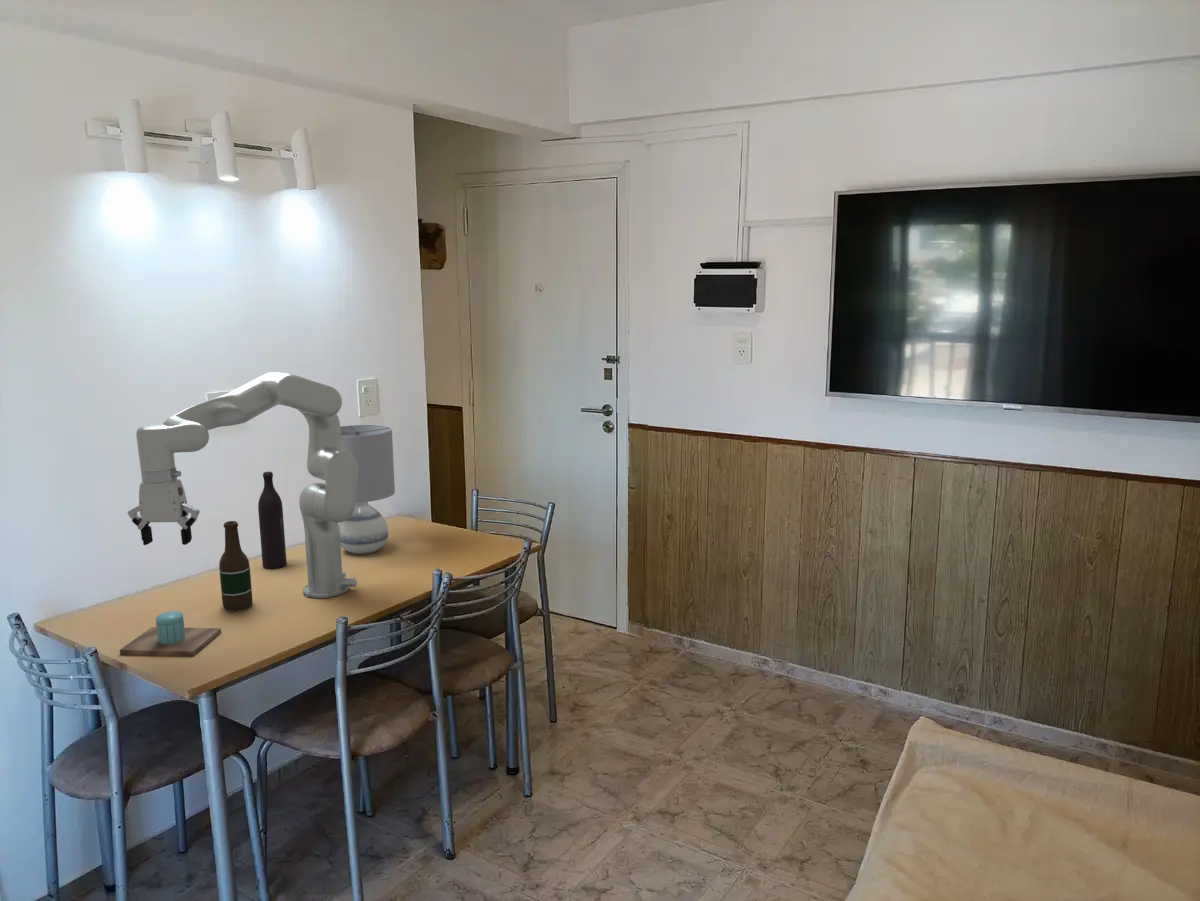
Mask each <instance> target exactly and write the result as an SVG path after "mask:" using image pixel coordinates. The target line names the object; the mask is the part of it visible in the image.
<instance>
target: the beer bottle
mask: <svg viewBox="0 0 1200 901" xmlns="http://www.w3.org/2000/svg"><path fill="white" fill-rule="evenodd" d="M238 527H239V523H238V522H237V520H230V521H229V520H228V521H225V522H224V523H223V528H224V552H223V553H222V554H221V557H220V559H219V565H218V567H219V570H218V571H219V581H220V589H221V591H220V592H221V600H222V606H223V608H224V609H225V611H229V612H238V611H242V610H246V609H248V608H250V607H252V606H253V590H252V577H251V568H250V560H249V558H248V556H247V555H246V554H245V553H244V551H243V550H242V547H241V543H240V537H239V528H238Z"/></svg>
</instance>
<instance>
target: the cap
mask: <svg viewBox="0 0 1200 901" xmlns="http://www.w3.org/2000/svg"><path fill="white" fill-rule="evenodd" d="M184 620H185V619H184V613H183V612H181V611H166V612H163V613H159V614H158V615H157V616H155V622H156V623H155V627H157V636H158V642H159V643H161V644H171V643H175V642H179V641H181V640H183V639H184V638H185V630H184V628H185V623H184Z"/></svg>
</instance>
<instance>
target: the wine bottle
mask: <svg viewBox="0 0 1200 901" xmlns="http://www.w3.org/2000/svg"><path fill="white" fill-rule="evenodd" d="M273 477H274V473H273V472H272V471H264V472H263V474H262V478H263V490H262V492H261V494H260V496H259V497H258V498H259V499H258V503H257V504H258V506H257V509H258V511H257V512H258V523H259V524H258V526H259V535H260V549H261V560H262V567H263V568H264V569H268V570H274V569H276V570H277V569H280V568H283V567H286V565H287V551H286V550H287V549H286V536H285V535H286V534H285V522H284V509H283V502H282V498H281V497H280V495H279V492H277V490H276V489H275V485H274V481H273Z"/></svg>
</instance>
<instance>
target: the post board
mask: <svg viewBox="0 0 1200 901" xmlns="http://www.w3.org/2000/svg"><path fill="white" fill-rule="evenodd" d="M221 629H222V628H219V627H218V628H217V627H215V628H213V627H184V630H185V638H184V639H183V640H181V641H179V642H175V643H171V644H161V643H159V642H158V636H157V626H151V627H150V628H148V629H146V630H145V631H144V632H142V633H141V634H140V635H139V636H137V637H136V638H134V639H133V640H132V641H130V642H129V643H127V644H126V645H124V646H123V647H121V648H120V649H119V655H121V656H122V655H123V656H128V655H129V656H167V657H169V656H170V657H171V656H172V657H195V655H197V654H198V653H199V652H200V651H201V650H203V649H204V648H205V647H206V646H207V645H209V643H211V642H212V641H213V640H214V639H216V638H217V637H218V636H219V635H221V633H222V630H221Z"/></svg>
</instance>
